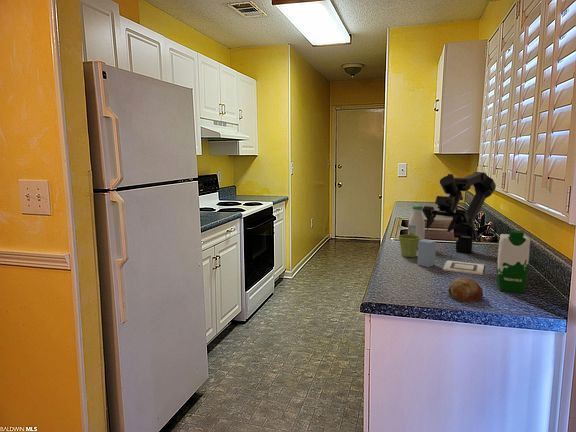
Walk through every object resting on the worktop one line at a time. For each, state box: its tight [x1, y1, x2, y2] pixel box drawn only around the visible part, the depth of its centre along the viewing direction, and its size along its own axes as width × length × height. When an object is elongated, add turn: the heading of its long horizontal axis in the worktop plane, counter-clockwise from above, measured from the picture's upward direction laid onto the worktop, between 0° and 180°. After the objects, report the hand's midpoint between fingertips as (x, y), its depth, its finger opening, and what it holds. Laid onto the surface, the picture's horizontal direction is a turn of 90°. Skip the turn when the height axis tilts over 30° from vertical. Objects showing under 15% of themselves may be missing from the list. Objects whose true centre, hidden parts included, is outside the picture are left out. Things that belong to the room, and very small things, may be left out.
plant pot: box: [397, 234, 421, 258], centre depth 182 cm, size 9×9×9 cm
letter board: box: [442, 260, 485, 276], centre depth 163 cm, size 14×14×1 cm
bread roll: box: [447, 277, 484, 303], centre depth 131 cm, size 10×10×8 cm
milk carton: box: [496, 230, 531, 294], centre depth 137 cm, size 9×9×20 cm
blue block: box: [416, 238, 437, 268], centre depth 167 cm, size 5×5×10 cm
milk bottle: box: [407, 204, 426, 249], centre depth 199 cm, size 8×8×20 cm
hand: (437, 229), depth 171 cm, fingers open, 9 cm apart
